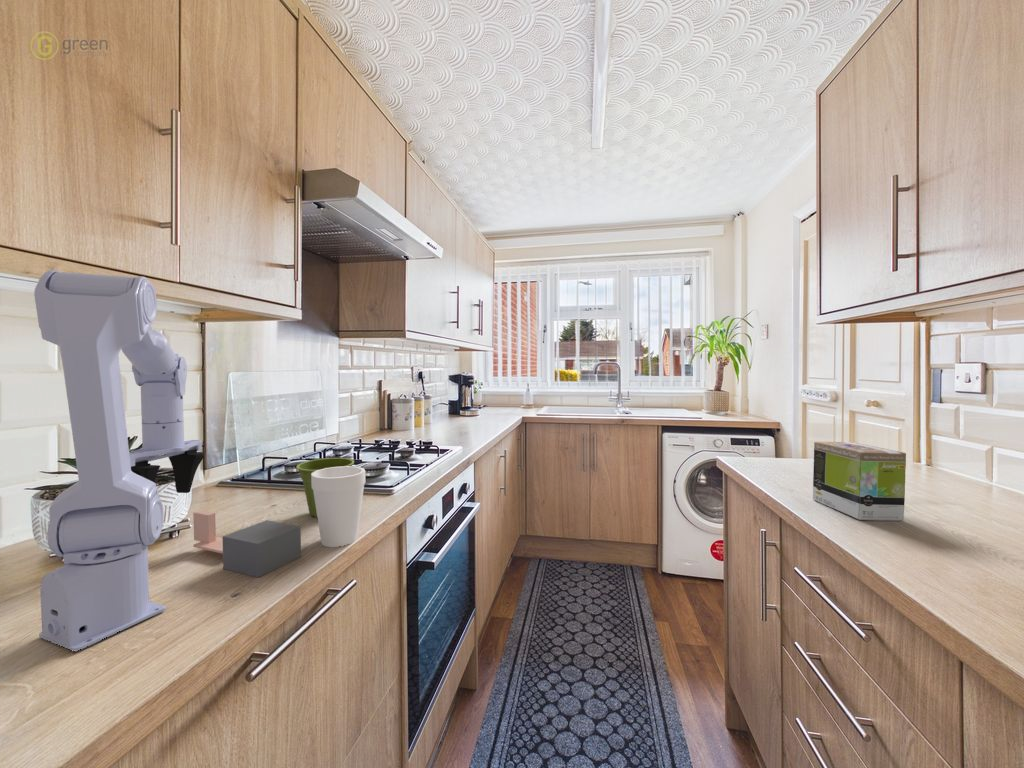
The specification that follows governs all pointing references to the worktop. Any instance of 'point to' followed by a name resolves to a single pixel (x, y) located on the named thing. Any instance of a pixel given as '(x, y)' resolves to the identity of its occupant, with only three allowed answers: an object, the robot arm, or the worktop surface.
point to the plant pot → (311, 467)
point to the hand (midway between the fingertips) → (165, 498)
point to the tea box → (860, 480)
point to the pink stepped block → (206, 532)
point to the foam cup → (338, 503)
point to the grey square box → (261, 548)
